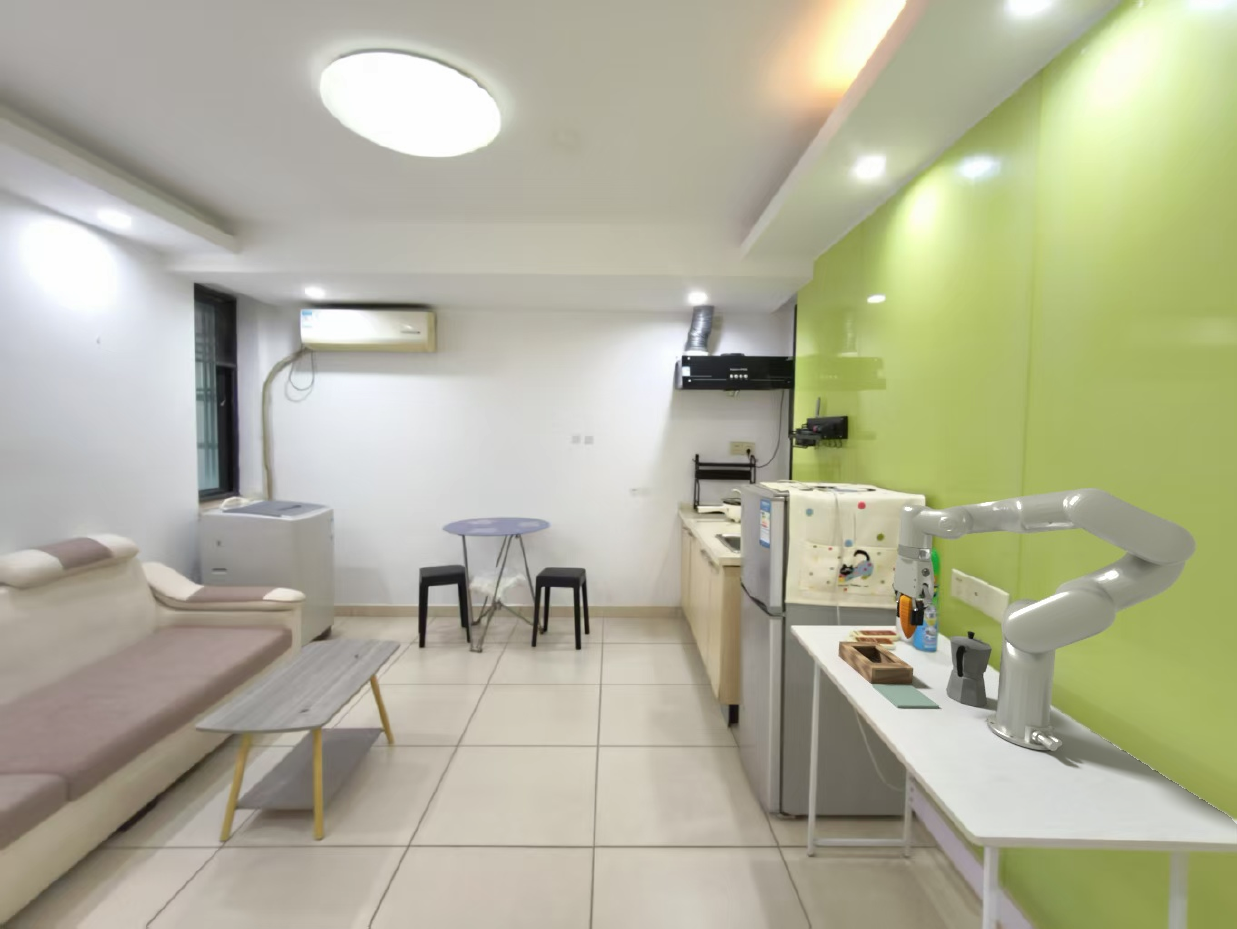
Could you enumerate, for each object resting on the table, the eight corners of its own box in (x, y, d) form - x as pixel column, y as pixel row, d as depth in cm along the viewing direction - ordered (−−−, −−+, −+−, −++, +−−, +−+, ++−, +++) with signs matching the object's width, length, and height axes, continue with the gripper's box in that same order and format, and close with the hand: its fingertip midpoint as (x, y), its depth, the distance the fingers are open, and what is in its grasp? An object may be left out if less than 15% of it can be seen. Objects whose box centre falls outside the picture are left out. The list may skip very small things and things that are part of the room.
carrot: (898, 633, 135) (903, 578, 134) (920, 638, 132) (924, 582, 131) (895, 638, 131) (899, 582, 131) (916, 644, 128) (921, 586, 127)
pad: (938, 708, 127) (938, 705, 127) (897, 707, 126) (897, 705, 126) (910, 686, 138) (910, 684, 138) (872, 686, 137) (872, 684, 137)
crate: (912, 684, 140) (913, 668, 140) (871, 683, 139) (872, 667, 139) (875, 656, 158) (876, 642, 157) (838, 655, 157) (839, 641, 157)
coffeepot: (954, 684, 141) (959, 621, 140) (994, 698, 134) (1000, 632, 133) (933, 700, 131) (938, 632, 130) (976, 716, 124) (982, 645, 123)
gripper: (951, 561, 122) (946, 634, 123) (907, 546, 139) (902, 610, 140) (922, 560, 122) (917, 633, 123) (881, 545, 139) (876, 609, 140)
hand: (909, 620), depth 131 cm, fingers closed on carrot, 5 cm apart
